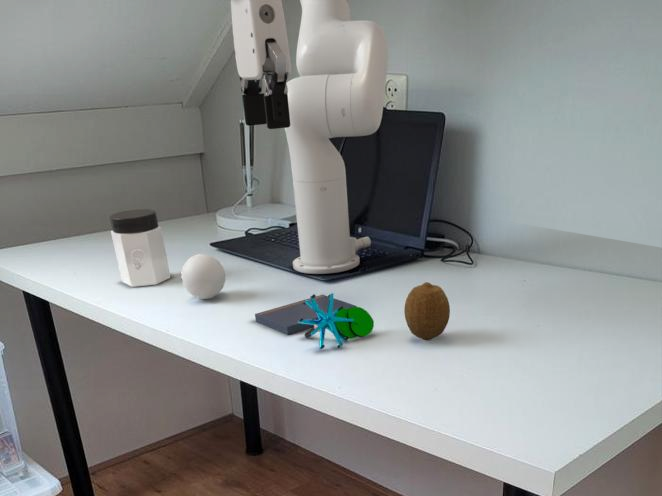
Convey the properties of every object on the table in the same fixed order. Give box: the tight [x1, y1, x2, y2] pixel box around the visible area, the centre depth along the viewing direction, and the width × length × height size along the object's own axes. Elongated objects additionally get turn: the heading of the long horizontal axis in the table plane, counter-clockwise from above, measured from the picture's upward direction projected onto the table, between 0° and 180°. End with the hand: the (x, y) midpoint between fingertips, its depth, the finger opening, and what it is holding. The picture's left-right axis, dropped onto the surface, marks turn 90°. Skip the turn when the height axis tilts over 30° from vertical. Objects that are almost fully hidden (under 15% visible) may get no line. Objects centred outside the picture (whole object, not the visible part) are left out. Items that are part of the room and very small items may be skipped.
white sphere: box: [171, 253, 226, 300], centre depth 127 cm, size 10×7×7 cm
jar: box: [109, 208, 171, 288], centre depth 137 cm, size 9×8×12 cm
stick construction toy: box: [298, 292, 375, 351], centre depth 106 cm, size 12×7×8 cm
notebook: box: [254, 294, 358, 335], centre depth 116 cm, size 13×9×1 cm
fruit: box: [404, 281, 451, 341], centre depth 103 cm, size 6×6×8 cm
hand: (267, 126), depth 106 cm, fingers open, 9 cm apart
